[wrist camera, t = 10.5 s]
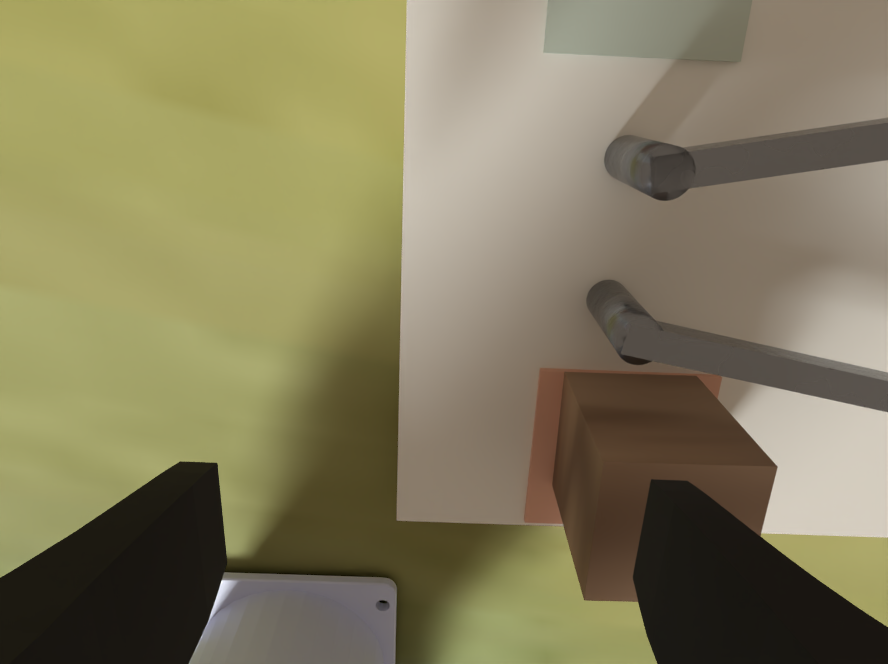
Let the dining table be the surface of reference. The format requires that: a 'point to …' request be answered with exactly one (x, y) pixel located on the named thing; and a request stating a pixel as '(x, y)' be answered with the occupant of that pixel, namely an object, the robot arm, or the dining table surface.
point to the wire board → (633, 238)
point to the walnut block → (644, 466)
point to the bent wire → (680, 169)
